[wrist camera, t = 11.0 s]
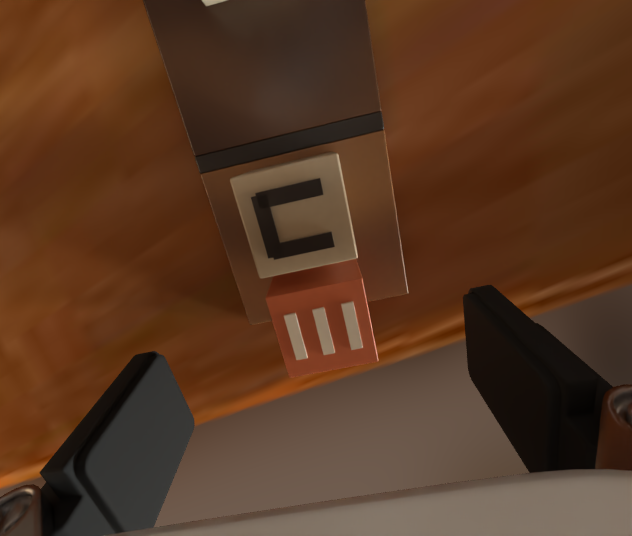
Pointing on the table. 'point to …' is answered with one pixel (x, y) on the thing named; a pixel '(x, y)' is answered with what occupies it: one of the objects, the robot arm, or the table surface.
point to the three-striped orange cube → (322, 318)
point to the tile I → (212, 2)
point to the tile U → (296, 214)
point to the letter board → (283, 116)
